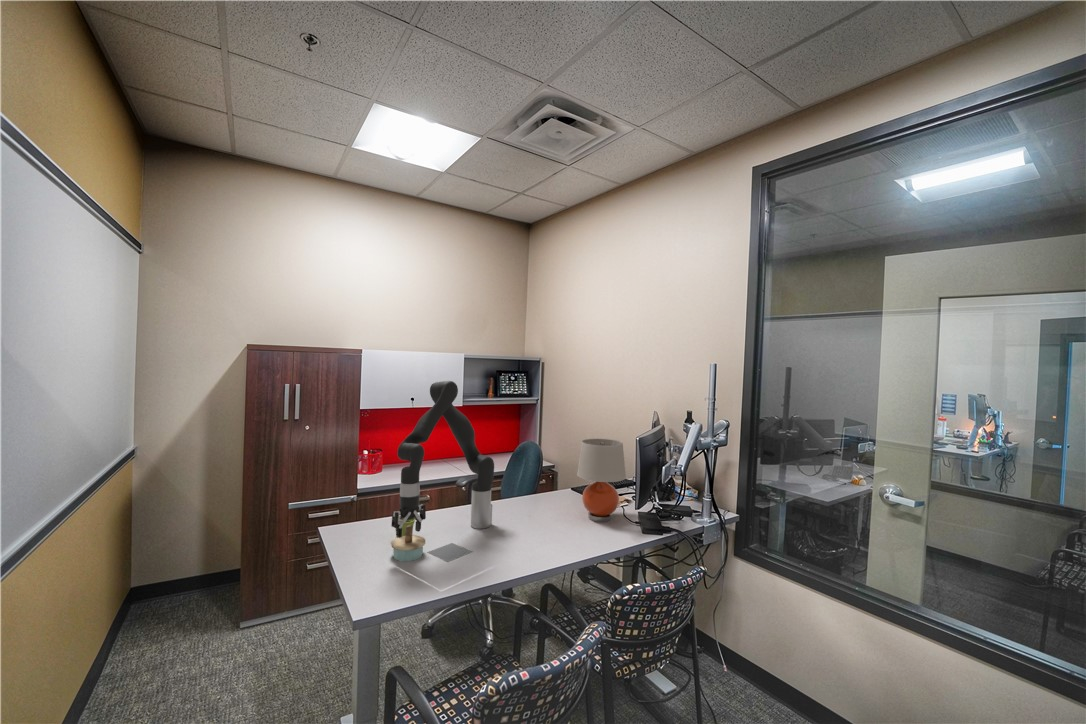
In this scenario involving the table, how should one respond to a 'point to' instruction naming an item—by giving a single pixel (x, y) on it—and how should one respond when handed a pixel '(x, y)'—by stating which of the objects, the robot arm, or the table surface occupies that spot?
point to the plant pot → (408, 522)
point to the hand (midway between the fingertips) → (408, 534)
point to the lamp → (601, 476)
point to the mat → (449, 552)
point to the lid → (408, 540)
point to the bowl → (407, 554)
